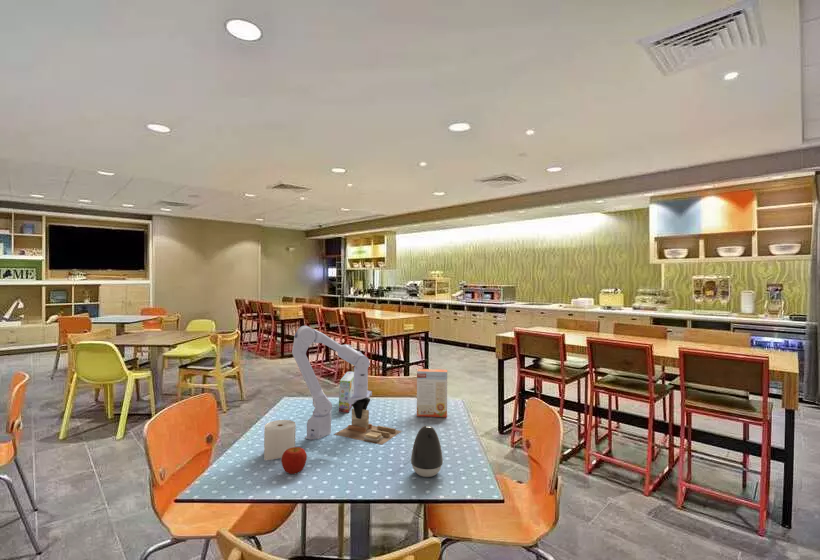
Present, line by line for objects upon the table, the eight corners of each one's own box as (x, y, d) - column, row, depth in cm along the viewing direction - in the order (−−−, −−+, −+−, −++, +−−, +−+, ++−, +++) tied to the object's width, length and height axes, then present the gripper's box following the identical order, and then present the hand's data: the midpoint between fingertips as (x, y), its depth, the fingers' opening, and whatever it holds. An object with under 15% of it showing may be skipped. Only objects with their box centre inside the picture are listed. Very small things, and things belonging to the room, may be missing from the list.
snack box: (350, 413, 194) (350, 380, 194) (338, 412, 194) (338, 380, 194) (356, 400, 215) (357, 371, 215) (345, 400, 215) (346, 370, 216)
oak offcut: (376, 439, 156) (376, 436, 156) (365, 437, 158) (365, 434, 158) (381, 436, 159) (381, 433, 159) (370, 434, 161) (370, 431, 161)
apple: (296, 464, 139) (297, 441, 139) (311, 471, 134) (312, 447, 134) (276, 472, 133) (276, 447, 133) (291, 480, 128) (291, 454, 128)
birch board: (366, 430, 168) (366, 411, 168) (351, 427, 171) (351, 409, 171) (368, 428, 170) (368, 410, 170) (354, 425, 173) (354, 407, 173)
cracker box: (447, 413, 195) (447, 369, 195) (447, 418, 189) (447, 371, 189) (417, 412, 196) (417, 368, 196) (416, 416, 190) (416, 370, 190)
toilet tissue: (295, 445, 154) (295, 418, 155) (295, 459, 143) (295, 429, 143) (265, 448, 152) (265, 420, 152) (262, 462, 140) (262, 432, 140)
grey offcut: (377, 442, 155) (377, 439, 155) (364, 439, 158) (364, 437, 158) (382, 439, 159) (383, 436, 159) (369, 436, 162) (369, 433, 162)
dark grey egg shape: (416, 483, 127) (416, 433, 127) (407, 468, 137) (407, 422, 137) (447, 479, 130) (448, 430, 130) (436, 465, 140) (437, 419, 140)
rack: (381, 447, 153) (382, 440, 153) (333, 437, 163) (333, 430, 163) (402, 434, 168) (402, 427, 168) (356, 425, 178) (356, 418, 178)
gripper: (359, 389, 162) (358, 424, 162) (378, 381, 175) (377, 413, 175) (344, 386, 165) (343, 421, 165) (364, 379, 178) (363, 411, 178)
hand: (360, 417), depth 170 cm, fingers closed on birch board, 2 cm apart
